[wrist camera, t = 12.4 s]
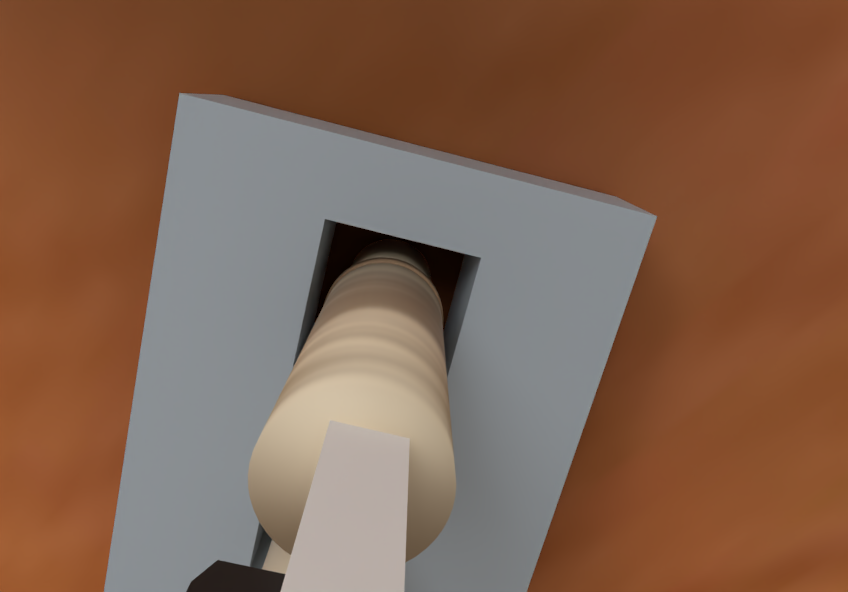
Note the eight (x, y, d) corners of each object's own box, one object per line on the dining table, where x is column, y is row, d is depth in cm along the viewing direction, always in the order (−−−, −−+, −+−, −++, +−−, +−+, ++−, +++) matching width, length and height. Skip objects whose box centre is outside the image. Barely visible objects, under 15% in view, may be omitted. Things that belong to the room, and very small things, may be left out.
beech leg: (353, 219, 28) (267, 364, 13) (450, 244, 28) (483, 414, 13) (331, 313, 29) (228, 552, 14) (425, 336, 29) (428, 595, 14)
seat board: (223, 94, 27) (-51, 83, 11) (616, 196, 28) (859, 314, 12) (149, 531, 32) (-106, 933, 16) (482, 601, 33) (536, 1040, 18)
